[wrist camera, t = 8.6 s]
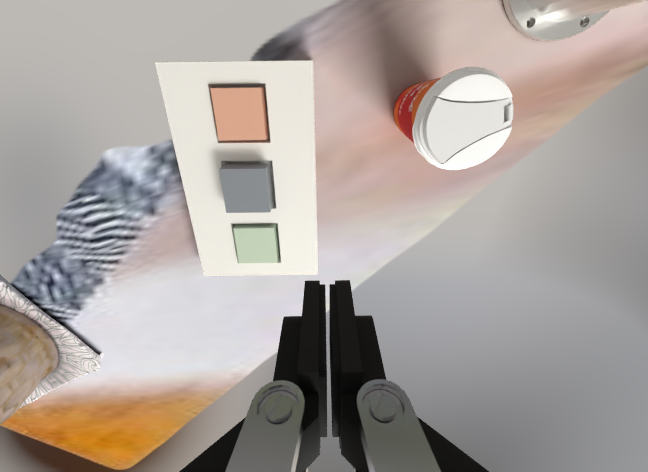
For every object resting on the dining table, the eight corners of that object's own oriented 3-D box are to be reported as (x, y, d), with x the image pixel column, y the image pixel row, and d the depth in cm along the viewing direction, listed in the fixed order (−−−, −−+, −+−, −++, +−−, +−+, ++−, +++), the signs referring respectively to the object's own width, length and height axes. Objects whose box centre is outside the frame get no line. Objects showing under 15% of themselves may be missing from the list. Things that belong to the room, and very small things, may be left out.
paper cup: (446, 64, 33) (523, 51, 20) (452, 134, 36) (521, 159, 24) (377, 85, 34) (410, 85, 21) (389, 151, 37) (423, 185, 25)
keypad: (313, 62, 33) (312, 60, 30) (317, 263, 44) (317, 274, 42) (168, 64, 33) (154, 62, 30) (211, 264, 44) (204, 275, 42)
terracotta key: (264, 87, 33) (260, 87, 31) (269, 136, 35) (265, 140, 33) (217, 88, 33) (210, 88, 31) (225, 137, 35) (218, 140, 33)
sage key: (276, 220, 40) (274, 228, 38) (279, 253, 42) (277, 262, 40) (238, 220, 40) (233, 228, 38) (243, 254, 42) (238, 263, 40)
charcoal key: (269, 163, 35) (265, 168, 33) (273, 205, 37) (270, 212, 35) (225, 164, 35) (218, 169, 33) (231, 205, 37) (226, 212, 35)
